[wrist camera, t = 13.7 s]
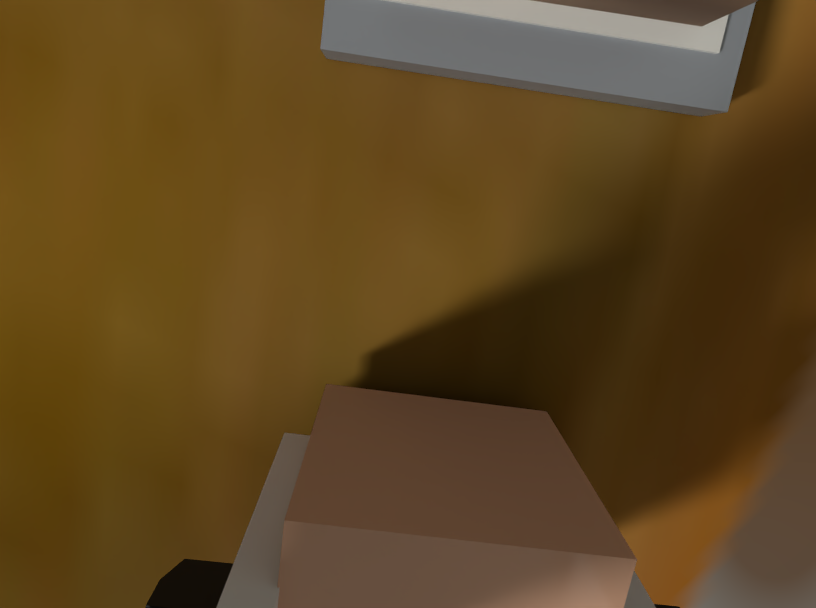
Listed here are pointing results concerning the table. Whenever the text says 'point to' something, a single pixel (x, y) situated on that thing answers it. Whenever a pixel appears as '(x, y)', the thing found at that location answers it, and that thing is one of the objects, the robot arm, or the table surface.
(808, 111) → the table surface
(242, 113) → the table surface
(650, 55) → the slate picture frame
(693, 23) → the walnut block
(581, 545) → the terracotta cube
